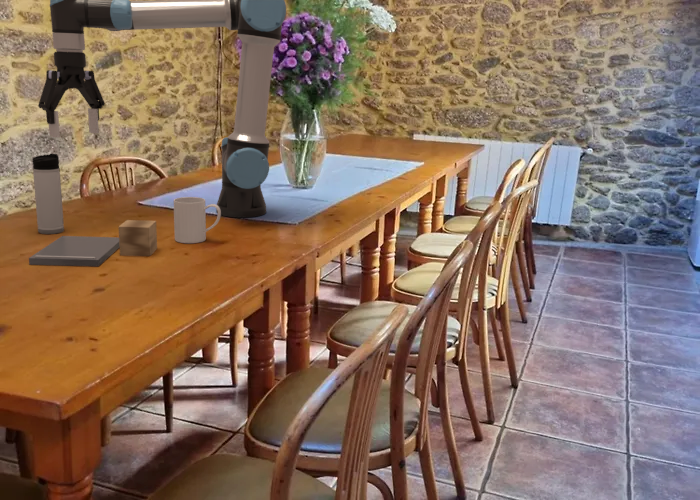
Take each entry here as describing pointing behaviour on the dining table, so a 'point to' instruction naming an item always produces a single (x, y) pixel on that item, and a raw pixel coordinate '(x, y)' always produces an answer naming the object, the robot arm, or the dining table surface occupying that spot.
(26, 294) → the dining table surface
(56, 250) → the slate board
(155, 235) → the oak cube
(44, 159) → the travel mug
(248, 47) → the robot arm
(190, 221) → the mug
